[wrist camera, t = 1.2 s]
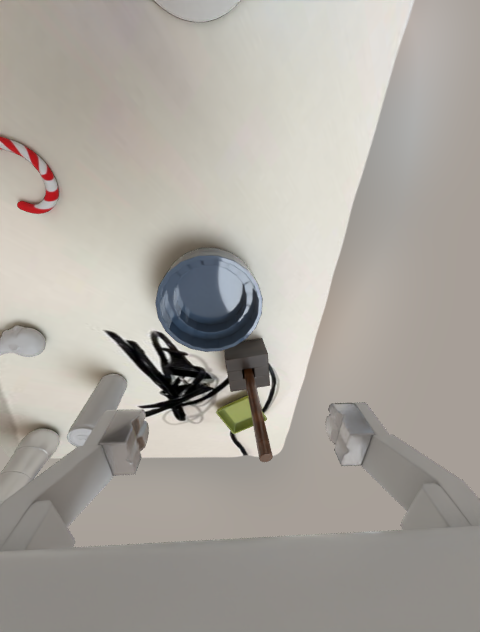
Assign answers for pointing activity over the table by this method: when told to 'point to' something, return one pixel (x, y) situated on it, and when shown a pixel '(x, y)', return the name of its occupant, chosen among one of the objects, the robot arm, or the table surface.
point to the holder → (247, 364)
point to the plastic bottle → (27, 461)
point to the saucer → (237, 415)
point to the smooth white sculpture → (22, 341)
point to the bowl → (209, 300)
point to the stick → (257, 418)
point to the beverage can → (97, 407)
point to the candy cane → (44, 171)
